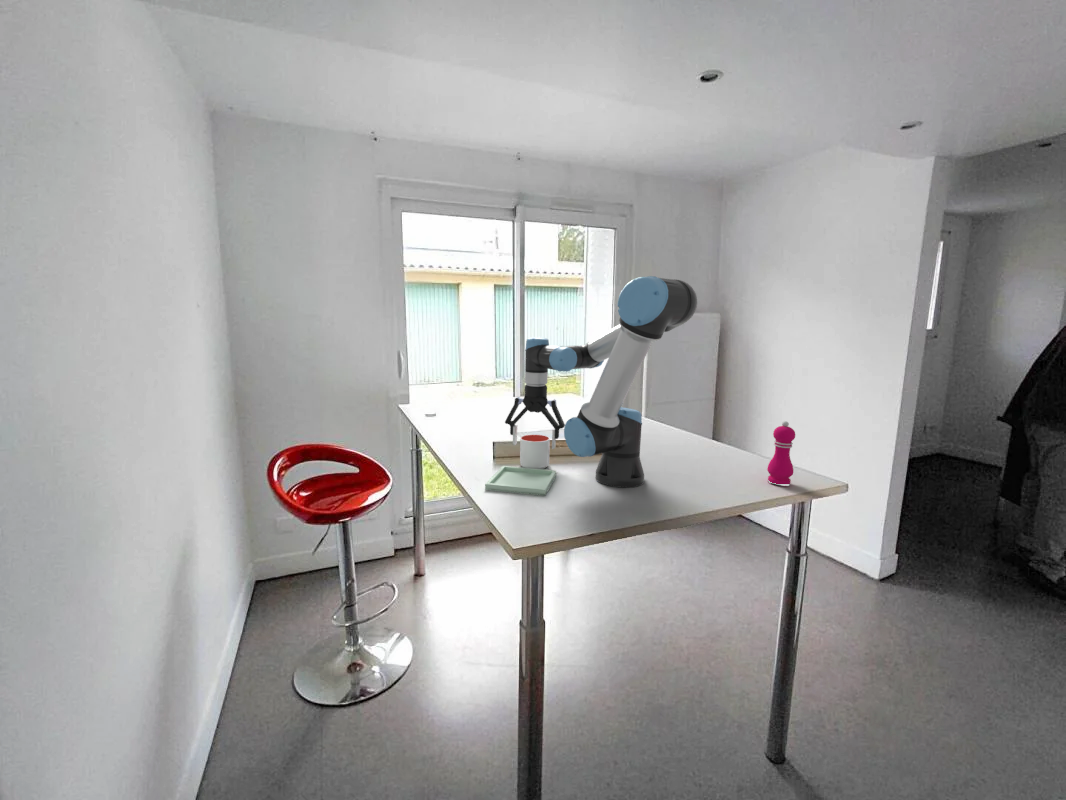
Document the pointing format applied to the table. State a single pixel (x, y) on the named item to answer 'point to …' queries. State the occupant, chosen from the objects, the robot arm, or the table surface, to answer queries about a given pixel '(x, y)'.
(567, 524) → the table surface
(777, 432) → the pepper mill
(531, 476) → the tray
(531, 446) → the cup
